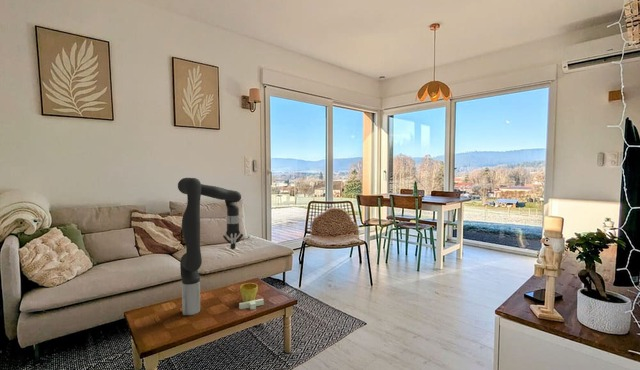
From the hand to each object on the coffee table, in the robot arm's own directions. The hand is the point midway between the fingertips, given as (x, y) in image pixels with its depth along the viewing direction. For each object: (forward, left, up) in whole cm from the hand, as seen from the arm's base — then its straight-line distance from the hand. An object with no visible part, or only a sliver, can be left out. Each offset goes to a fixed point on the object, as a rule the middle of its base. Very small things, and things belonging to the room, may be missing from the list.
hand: (233, 249), depth 196 cm
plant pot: (+6, -16, -29) cm, 34 cm away
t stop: (+6, -24, -29) cm, 38 cm away
